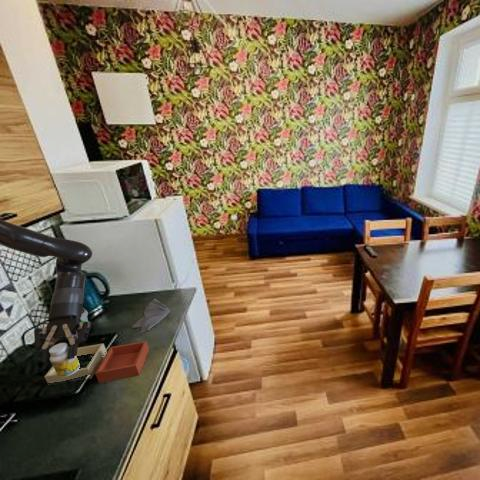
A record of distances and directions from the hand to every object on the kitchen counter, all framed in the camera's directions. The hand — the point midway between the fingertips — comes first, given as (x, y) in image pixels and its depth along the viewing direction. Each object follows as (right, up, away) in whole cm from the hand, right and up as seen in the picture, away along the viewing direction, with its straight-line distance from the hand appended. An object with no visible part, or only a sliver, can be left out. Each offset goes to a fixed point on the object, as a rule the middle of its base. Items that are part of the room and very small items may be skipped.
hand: (58, 360), depth 79 cm
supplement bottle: (-1, -5, +4) cm, 7 cm away
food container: (-29, -4, +41) cm, 50 cm away
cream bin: (-13, -13, +21) cm, 28 cm away
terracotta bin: (+3, -12, +23) cm, 26 cm away
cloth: (-3, -1, +51) cm, 51 cm away
